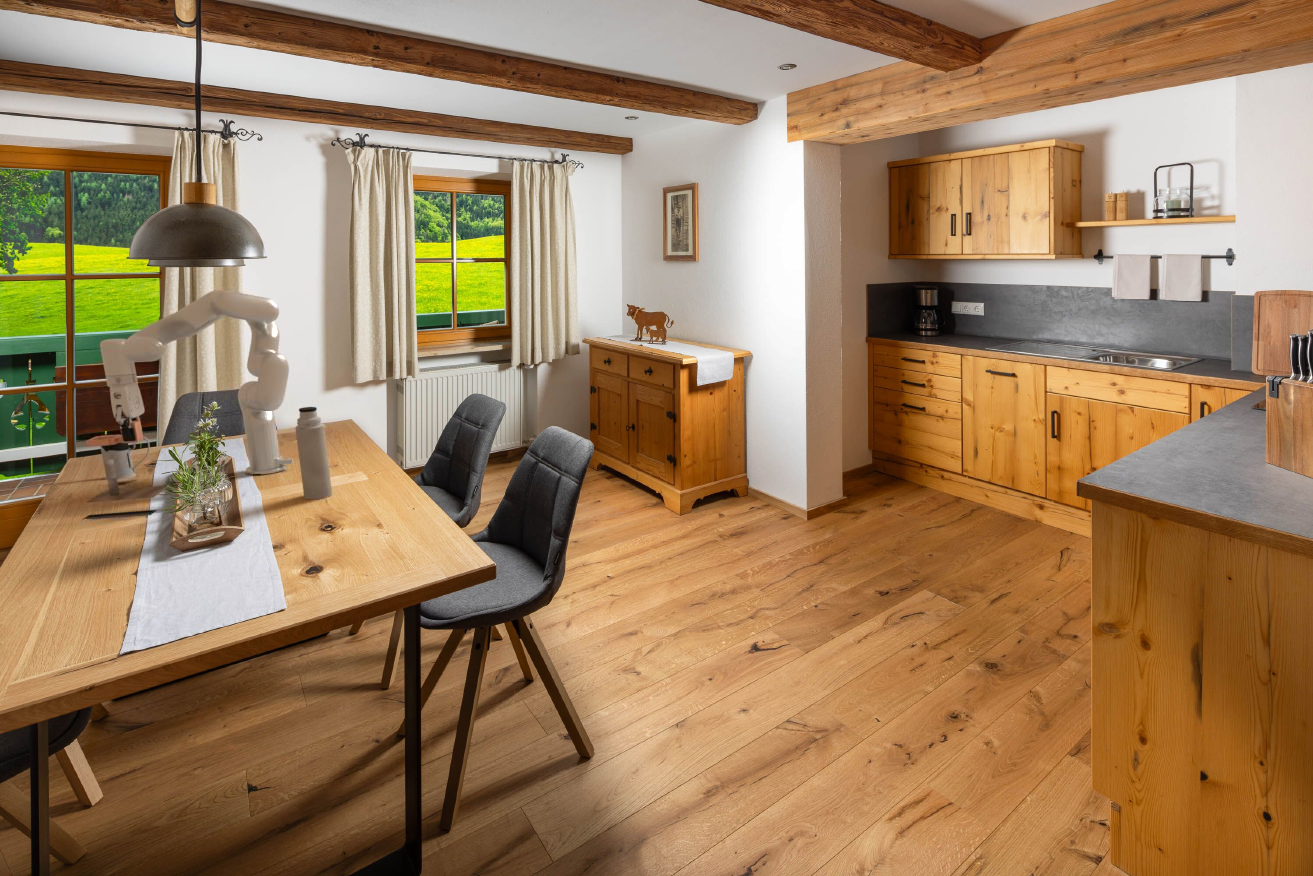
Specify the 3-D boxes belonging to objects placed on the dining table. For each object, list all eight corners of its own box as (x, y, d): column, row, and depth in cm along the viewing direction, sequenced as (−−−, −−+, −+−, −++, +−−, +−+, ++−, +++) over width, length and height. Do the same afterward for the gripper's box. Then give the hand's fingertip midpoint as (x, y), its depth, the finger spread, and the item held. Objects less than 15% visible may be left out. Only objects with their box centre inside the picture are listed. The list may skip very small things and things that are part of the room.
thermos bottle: (310, 492, 234) (300, 405, 227) (336, 491, 234) (326, 405, 228) (299, 499, 226) (288, 410, 220) (326, 499, 226) (315, 409, 220)
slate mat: (166, 502, 225) (166, 501, 225) (150, 515, 213) (150, 513, 213) (103, 507, 221) (103, 505, 221) (83, 520, 210) (82, 518, 209)
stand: (170, 489, 238) (164, 452, 235) (154, 502, 225) (147, 462, 222) (107, 494, 234) (100, 456, 231) (86, 507, 221) (78, 467, 218)
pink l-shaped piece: (145, 438, 230) (142, 419, 229) (135, 443, 223) (132, 424, 222) (97, 441, 227) (94, 422, 226) (85, 446, 220) (81, 427, 219)
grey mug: (108, 476, 255) (100, 433, 251) (157, 471, 260) (150, 429, 257) (101, 482, 247) (93, 439, 243) (151, 477, 252) (144, 434, 249)
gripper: (123, 383, 215) (135, 444, 219) (147, 375, 231) (158, 432, 235) (94, 385, 213) (106, 446, 217) (120, 376, 229) (131, 434, 233)
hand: (133, 438), depth 226 cm, fingers closed on pink l-shaped piece, 4 cm apart
